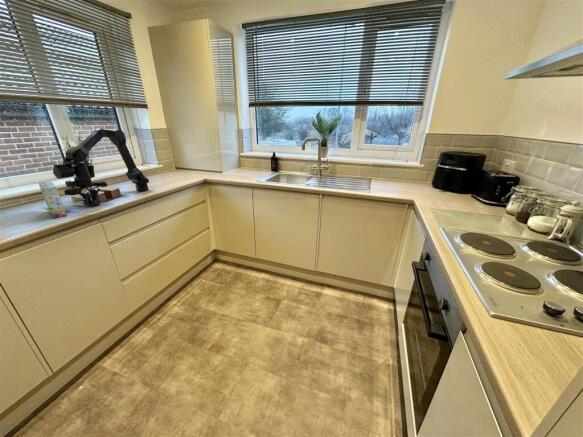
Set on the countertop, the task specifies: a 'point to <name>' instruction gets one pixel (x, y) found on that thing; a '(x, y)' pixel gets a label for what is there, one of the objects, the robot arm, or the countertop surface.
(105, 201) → the cake board
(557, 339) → the countertop surface
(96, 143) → the robot arm
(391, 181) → the countertop surface
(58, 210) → the snack box
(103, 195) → the cake slice
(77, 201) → the knife
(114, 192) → the sheet cake
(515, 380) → the countertop surface
